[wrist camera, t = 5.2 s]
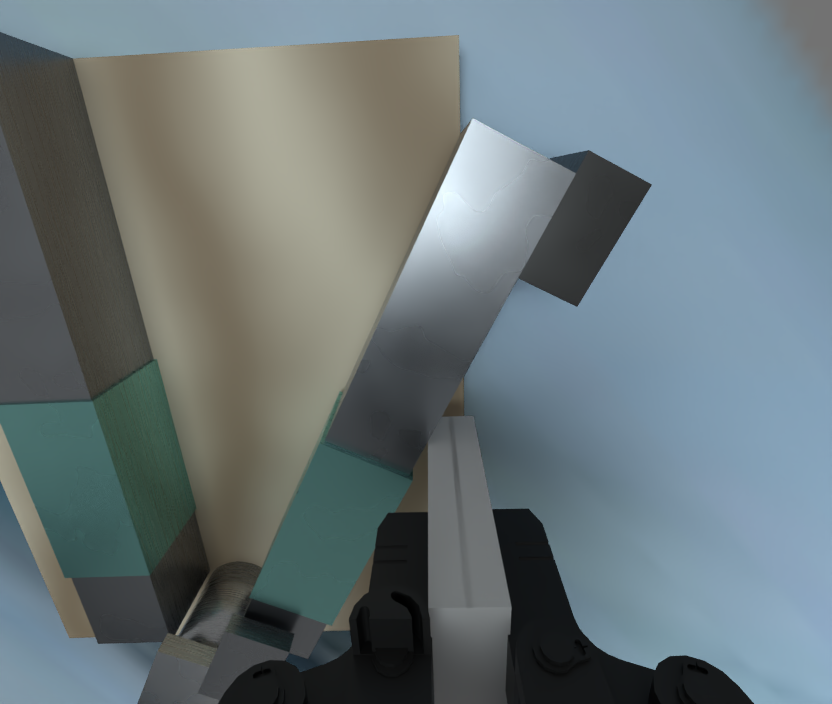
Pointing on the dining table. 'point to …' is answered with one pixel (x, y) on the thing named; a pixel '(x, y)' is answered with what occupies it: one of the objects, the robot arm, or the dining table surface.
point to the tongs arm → (411, 384)
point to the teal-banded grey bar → (91, 378)
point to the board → (261, 256)
